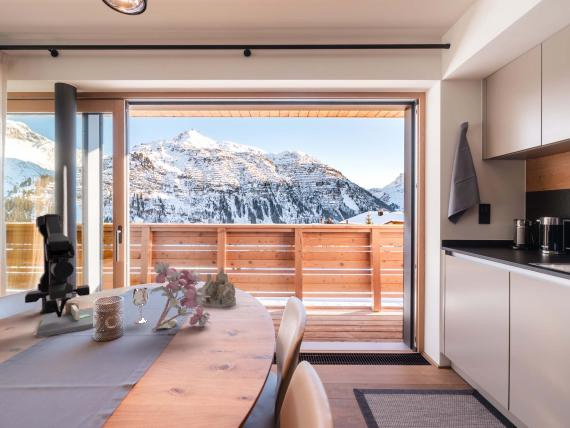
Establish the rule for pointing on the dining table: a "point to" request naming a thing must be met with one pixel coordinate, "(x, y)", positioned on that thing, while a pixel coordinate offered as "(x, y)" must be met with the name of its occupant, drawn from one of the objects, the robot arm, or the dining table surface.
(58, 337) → the dining table surface
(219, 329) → the dining table surface
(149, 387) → the dining table surface
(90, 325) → the dial plate
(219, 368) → the dining table surface
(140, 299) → the wineglass
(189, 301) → the flower
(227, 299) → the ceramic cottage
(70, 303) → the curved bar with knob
